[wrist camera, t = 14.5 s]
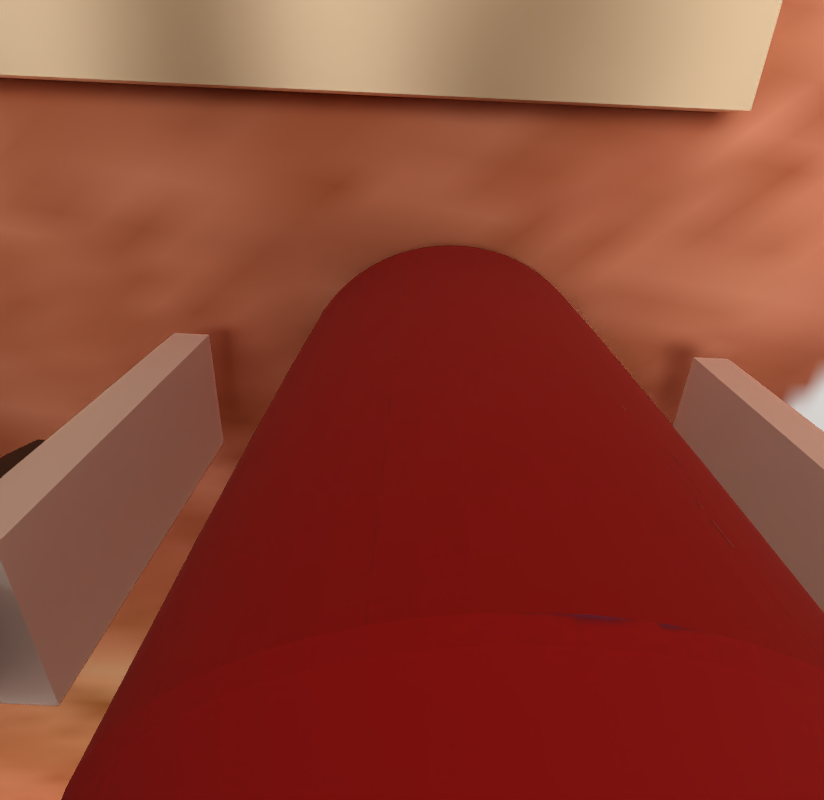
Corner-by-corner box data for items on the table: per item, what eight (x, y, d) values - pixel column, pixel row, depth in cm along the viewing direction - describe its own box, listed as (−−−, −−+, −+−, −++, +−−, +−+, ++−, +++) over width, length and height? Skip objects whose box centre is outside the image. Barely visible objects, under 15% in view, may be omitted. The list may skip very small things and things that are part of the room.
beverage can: (356, 508, 15) (205, 1385, 5) (267, 280, 12) (-688, 1233, 2) (597, 458, 14) (1092, 1404, 4) (561, 198, 12) (2328, 1148, 1)
